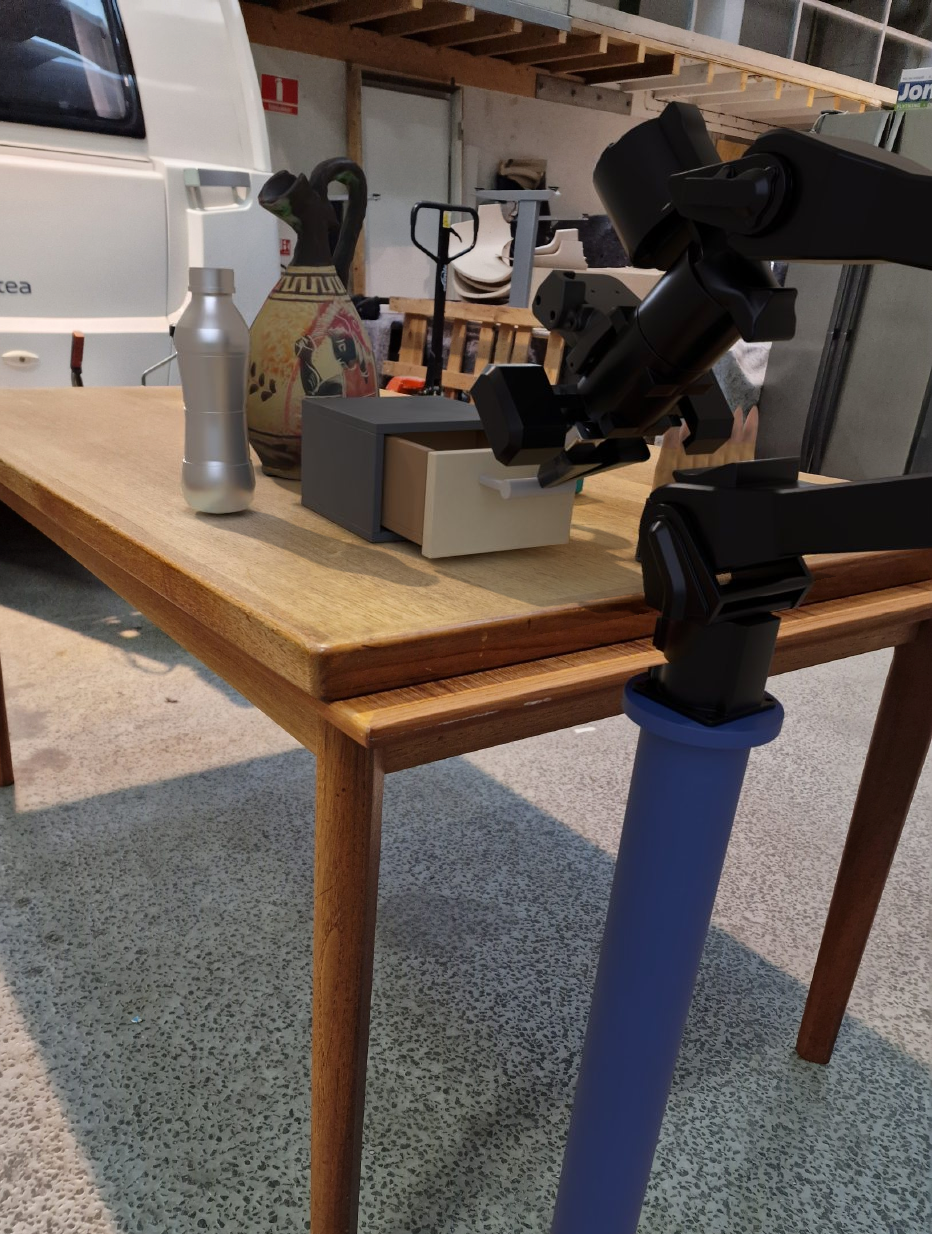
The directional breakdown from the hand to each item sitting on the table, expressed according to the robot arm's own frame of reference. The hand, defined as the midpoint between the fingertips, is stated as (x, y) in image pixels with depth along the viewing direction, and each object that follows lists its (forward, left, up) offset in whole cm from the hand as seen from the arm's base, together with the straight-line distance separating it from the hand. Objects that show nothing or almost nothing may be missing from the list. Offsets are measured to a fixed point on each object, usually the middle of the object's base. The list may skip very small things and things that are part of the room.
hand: (543, 482), depth 71 cm
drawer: (+9, -1, -6) cm, 11 cm away
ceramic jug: (+41, -4, -7) cm, 42 cm away
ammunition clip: (-1, -16, -7) cm, 18 cm away
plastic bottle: (+28, +13, -7) cm, 32 cm away
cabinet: (+20, -2, -7) cm, 21 cm away
